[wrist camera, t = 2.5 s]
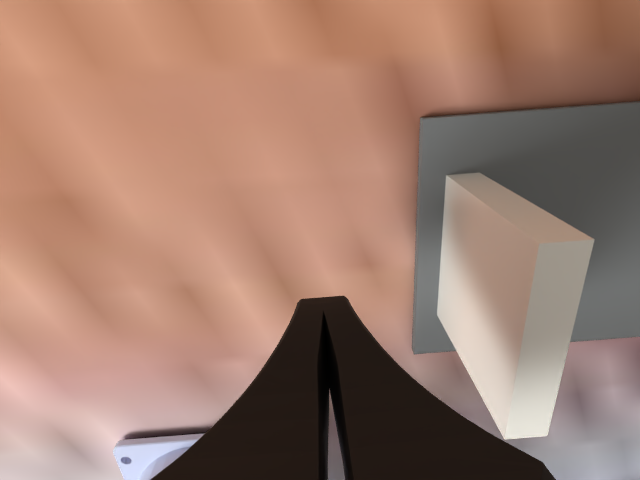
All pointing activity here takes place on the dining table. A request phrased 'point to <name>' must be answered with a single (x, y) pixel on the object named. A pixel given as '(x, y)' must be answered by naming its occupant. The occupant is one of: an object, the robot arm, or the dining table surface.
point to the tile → (509, 298)
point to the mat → (542, 201)
